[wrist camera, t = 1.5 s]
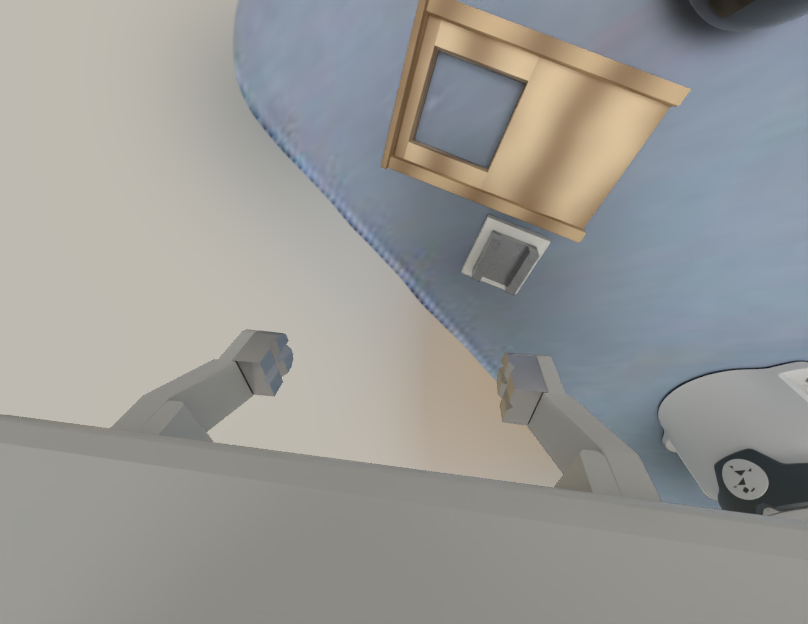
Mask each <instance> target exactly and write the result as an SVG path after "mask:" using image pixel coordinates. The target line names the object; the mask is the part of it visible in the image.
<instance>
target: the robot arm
mask: <svg viewBox="0 0 808 624" xmlns="http://www.w3.org/2000/svg"><path fill="white" fill-rule="evenodd" d="M287 342H288V338H287V336H286V334H283V333H277V332H268V331H257V330H248V329H246V330H244V331H242V332H241V334H240V335H239V336H238V337H237V338H236V339H235V340H234V342H233V343H232V344H231V345H230V346H229V347H228V349H227V350H226V351H225V352H224V353H223V354H222V356H221V357H220V358H219V359H218V360H217V359H216V360H215V359H214V360H212V361H210V362H208V363H206V364H204V365H202V366H200V367H198V368H196V369H194V370H192V371H190V372H188V373H186V374H184V375H182V376H181V377H179V378H177V379H175V380H173V381H171V382H169V383H167V384H165V385H163V386H161V387H159V388H157V389H155V390H153V391H151V392H149V393H147V394H145V395H143V396H142V397H141V398H140V399H139V400H138V401H137V402H136V403H135V404H134V405H133V406H132V407H131V408H130V409H129V410H128V411H127V412H126V413H125V414H124V415H123V416H122V417H121V418H120V419H119V420H118V421H117V422H116V423H115V424H114V425H113V426H112V427H111V428H110V429H109V428H102V427H94V426H87V425H79V424H72V423H64V422H56V421H49V420H41V419H34V418H27V417H19V416H12V415H0V624H808V362H794V363H789V364H784V365H780V366H776V367H772V368H766V369H747V370H732V371H725V372H719V373H715V374H710V375H707V376H703V377H700V378H698V379H695V380H692V381H690V382H688V383H686V384H684V385H682V386H680V387H679V388H677V389H676V390H674V391H673V392H672V393H670V394H669V395H668V396H667V397H666V398H665V399H664V401H663V402H662V404H661V405H660V408H659V411H658V418H659V422H660V424H661V425H662V427H663V429H664V435H663V439H662V442H663V444H664V445H665V447H666V448H667V449H668V450H669V451H672V452H675V453H678V455H679V456H680V458H681V459H682V461H683V462H684V464H685V465H686V467H687V468H688V470H689V471H690V473H691V474H692V476H693V477H694V479H695V480H696V482H697V483H698V485H699V486H700V488H701V489H702V491H703V492H704V493H705V494H706V495H707V496H708V497H709V498H712V499H714V500H716V501H718V503H719V505H720V506H721V508H722V510H719V509H711V508H704V507H696V506H688V505H681V504H673V503H666V502H662V500H661V498H660V496H659V494H658V492H657V490H656V488H655V487H654V485H653V483H652V481H651V479H650V477H649V475H648V473H647V471H646V469H645V467H644V465H643V463H642V461H641V459H640V457H639V455H638V454H637V453H636V452H635V451H633V450H632V449H631V448H630V447H629V446H628V445H627V444H625V443H624V442H623V441H622V440H621V439H620V438H619V437H617V436H616V435H615V434H614V433H613V432H612V431H611V430H610V429H608V428H607V427H606V426H605V425H604V424H603V423H602V422H600V421H599V420H598V419H597V418H596V417H595V416H594V415H592V414H591V413H590V412H589V411H588V410H587V409H586V408H584V407H583V406H582V405H581V404H580V403H579V402H578V401H576V400H575V399H574V398H573V397H572V396H571V395H566V394H565V391H564V388H563V386H562V383H561V380H560V378H559V375H558V373H557V370H556V367H555V365H554V362H553V359H552V358H551V357H550V356H540V355H527V354H515V353H505V354H504V355H503V358H502V364H503V367H501V368H500V369H499V372H498V378H497V390H498V395H499V396H500V397H501V398H502V400H501V403H500V409H501V416H502V422H506V423H513V424H521V425H528V428H529V429H530V431H531V432H532V433H533V435H534V436H535V437H536V439H537V440H538V441H539V442H540V444H541V445H542V446H543V447H544V449H545V450H546V452H547V453H548V454H549V456H550V457H551V458H552V460H553V461H554V462H555V463H556V465H557V466H558V468H559V469H560V470H561V471H562V473H563V476H562V477H561V479H560V480H559V481H558V482H557V484H556V485H555V486H554V488H552V487H545V486H537V485H529V484H522V483H515V482H507V481H499V480H492V479H484V478H477V477H469V476H461V475H455V474H447V473H440V472H432V471H424V470H417V469H409V468H402V467H395V466H387V465H380V464H372V463H364V462H356V461H349V460H342V459H335V458H327V457H319V456H312V455H305V454H297V453H290V452H282V451H274V450H267V449H259V448H252V447H244V446H236V445H229V444H221V443H214V442H213V440H212V439H211V438H210V436H209V435H208V434H207V431H208V430H210V429H211V428H212V427H213V426H215V425H216V424H217V423H219V422H220V421H221V420H223V419H224V418H225V417H226V416H228V415H229V414H230V413H231V412H233V411H234V410H235V409H237V408H238V407H239V406H241V405H242V404H243V403H244V402H246V401H247V400H248V399H249V398H251V397H252V396H253V395H265V396H275V395H276V393H277V391H278V389H279V388H280V386H281V384H282V382H283V381H282V376H284V375H285V374H287V373H288V372H289V370H290V368H291V366H292V362H293V353H292V350H291V348H289V347H288V346H287V345H286V344H287Z"/></svg>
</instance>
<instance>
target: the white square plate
mask: <svg viewBox="0 0 808 624" xmlns="http://www.w3.org/2000/svg"><path fill="white" fill-rule="evenodd" d="M492 230H495V231H498V232H500V233H503V234H505V235H508V236H510V237H513V238H515V239H518V240H520V241H523V242H526V243H528V244H531V245H533V246H536V247H537V250H538V253H539V258H538V259H537V261H536V262H535V264H534V265H533V267H532V268H531V270H530V271H529V273H528V274H527V276H526V277H525V279H524V280H523V282H522V284H521V285H520V287H519V288H518V290H517V291H516V293H515V294H517V292H518V291H519V289H520V288H521V286H522V285H523V283H524V282H525V280H526V279H527V277H528V276H529V274H530V273H531V271H532V270H533V268H534V267H535V265H536V264H537V262H538V261H539V259H540V258H541V256H542V254H543V253H544V251H545V250H546V248H547V247H548V245H549V244H550V242H551V241H550V239H549V238H548V237H545V236H543V235H540V234H538V233H535V232H533V231H530V230H527V229H525V228H522V227H520V226H517V225H515V224H512V223H510V222H507V221H505V220H502V219H500V218H497V217H494V216H492V215H489V214H488V216H487V218H486V220H485V222H484V224H483V226H482V228H481V230H480V232H479V234H478V236H477V238H476V240H475V242H474V245H473V247H472V249H471V251H470V253H469V255H468V257H467V259H466V261H465V263H464V265H463V267H462V271H461V273H463V274H466V275H468V276H471V277H472V269H473V267H474V265H475V263H476V261H477V259H478V257H479V255H480V253H481V251H482V249H483V247H484V245H485V243H486V241H487V239H488V237H489V236H490V234H491V232H492ZM481 281H483V282H486V283H488V284H491V285H493V286H496V287H498V288H501V289H503V290H505V285H502V284H500V283H497V282H495V281H492V280H490V279H487V278H485V277H482V279H481Z"/></svg>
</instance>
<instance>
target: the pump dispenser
mask: <svg viewBox="0 0 808 624" xmlns="http://www.w3.org/2000/svg"><path fill="white" fill-rule="evenodd" d="M689 1H690V3H691V5H692V6H693V8H694V9H695V11H696V12H697V13H698V15H699V16H700V17H701V18H702V19H703V20H704V21H706V22H707V23H709V24H710V25H712V26H714V27H716V28H719V29H722V30H726V31H733V32H748V31H756V30H761V29H766V28H770V27H773V26H776V25H780V24H783V23H786V22H788V21H791V20H794V19H796V18H799V17H801V16H804V15H806V14H808V0H689Z"/></svg>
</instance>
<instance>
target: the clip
mask: <svg viewBox="0 0 808 624" xmlns="http://www.w3.org/2000/svg"><path fill="white" fill-rule="evenodd" d="M538 258H539V253H538V250H537V247H536V246H533V245H531V244H528V243H526V242H523V241H520V240H518V239H515V238H513V237H510V236H508V235H505V234H503V233H500V232H498V231H495V230H492V232H491V234H490V236H489V237H488V239H487V241H486V243H485V245H484V247H483V249H482V251H481V253H480V255H479V257H478V259H477V261H476V263H475V265H474V267H473V269H472V277H471V278H472V279H474V280H477V281H479V282H480V280H481V279H482V277H485V278H487V279H490V280H492V281H495V282H497V283H500V284H502V285H505V292H507V293H509V294H512V295H514V294H515V293H516V291H517V290H518V288H519V287H520V285H521V284H522V282H523V280H524V279H525V277H526V276H527V274H528V273H529V271H530V270H531V268H532V267H533V265H534V264H535V262H536V261H537V259H538Z"/></svg>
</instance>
